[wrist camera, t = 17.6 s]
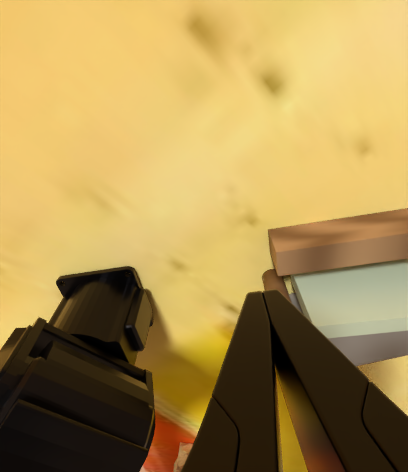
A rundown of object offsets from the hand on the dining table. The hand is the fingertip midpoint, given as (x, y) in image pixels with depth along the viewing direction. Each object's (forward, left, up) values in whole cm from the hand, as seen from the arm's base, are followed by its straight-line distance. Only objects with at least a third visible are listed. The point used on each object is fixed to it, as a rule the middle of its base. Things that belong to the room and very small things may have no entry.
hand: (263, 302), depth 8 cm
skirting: (+11, -6, -13) cm, 18 cm away
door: (+9, -10, -13) cm, 19 cm away
